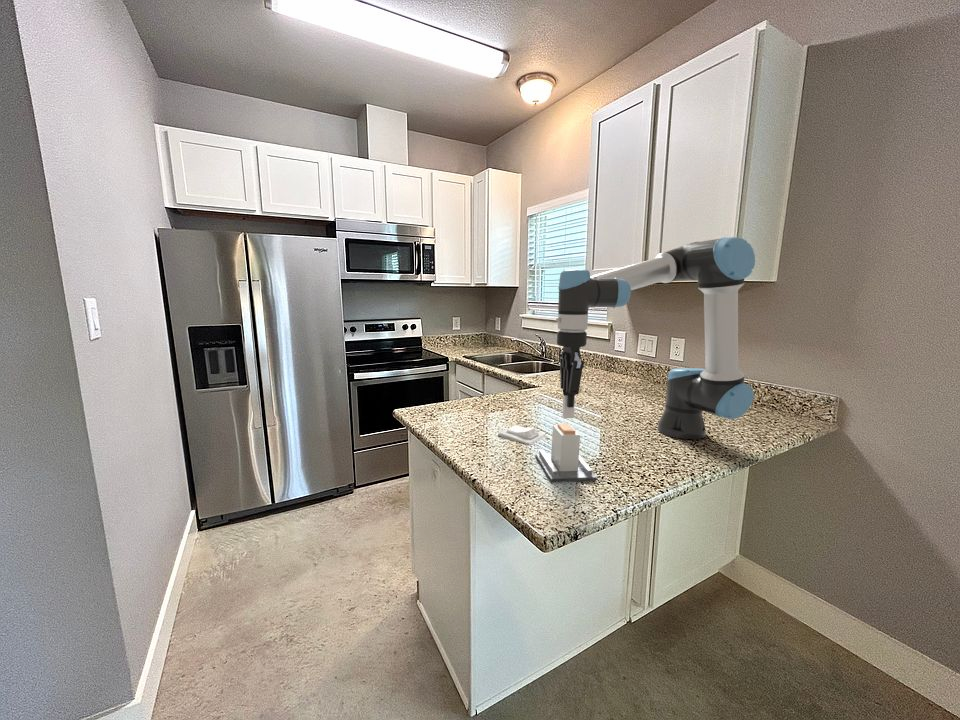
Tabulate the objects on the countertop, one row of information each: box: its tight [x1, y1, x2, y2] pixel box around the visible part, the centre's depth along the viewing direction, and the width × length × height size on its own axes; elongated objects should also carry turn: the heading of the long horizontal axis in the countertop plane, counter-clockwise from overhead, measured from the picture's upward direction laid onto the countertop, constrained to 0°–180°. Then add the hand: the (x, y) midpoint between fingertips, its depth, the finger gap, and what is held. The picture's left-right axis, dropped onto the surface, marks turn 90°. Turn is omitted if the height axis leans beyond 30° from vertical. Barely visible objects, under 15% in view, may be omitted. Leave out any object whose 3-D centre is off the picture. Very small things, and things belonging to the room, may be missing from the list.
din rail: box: [535, 449, 597, 483], centre depth 107 cm, size 12×16×2 cm
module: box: [550, 422, 581, 471], centre depth 106 cm, size 5×8×11 cm, turn 6°
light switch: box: [497, 424, 547, 446], centre depth 130 cm, size 11×4×13 cm
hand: (568, 417), depth 105 cm, fingers closed
